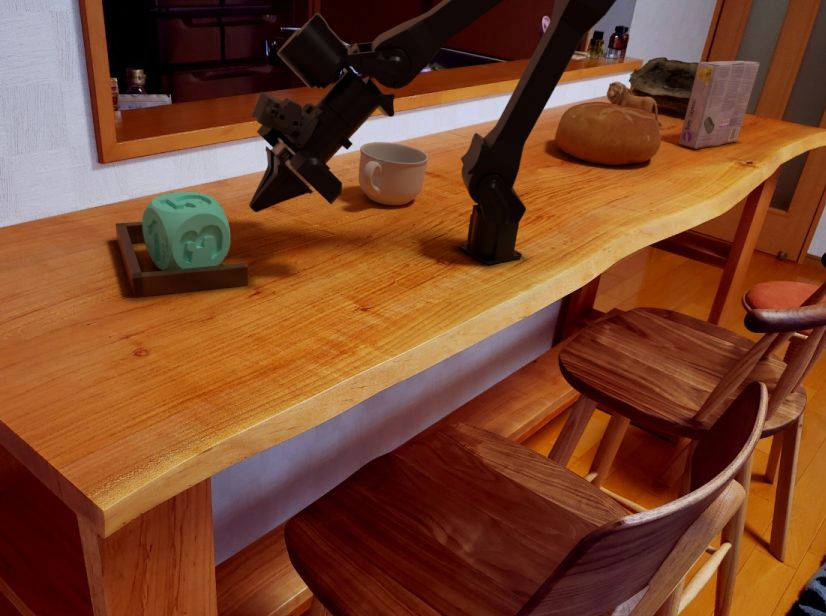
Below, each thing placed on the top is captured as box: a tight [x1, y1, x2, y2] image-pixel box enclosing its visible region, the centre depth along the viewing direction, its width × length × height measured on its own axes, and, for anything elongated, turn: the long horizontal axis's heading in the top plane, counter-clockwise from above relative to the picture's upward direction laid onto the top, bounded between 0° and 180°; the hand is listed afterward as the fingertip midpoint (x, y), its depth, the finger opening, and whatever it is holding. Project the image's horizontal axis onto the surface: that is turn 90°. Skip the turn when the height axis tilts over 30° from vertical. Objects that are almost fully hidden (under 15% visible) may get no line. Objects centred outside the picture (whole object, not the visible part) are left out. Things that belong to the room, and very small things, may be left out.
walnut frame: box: [114, 221, 249, 298], centre depth 94 cm, size 13×17×2 cm
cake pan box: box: [678, 60, 761, 150], centre depth 167 cm, size 19×5×18 cm, turn 128°
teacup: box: [358, 141, 429, 206], centre depth 118 cm, size 14×11×8 cm
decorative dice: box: [141, 191, 231, 271], centre depth 93 cm, size 8×8×8 cm
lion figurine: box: [606, 81, 663, 128], centre depth 181 cm, size 15×5×9 cm, turn 62°
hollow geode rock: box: [628, 56, 699, 115], centre depth 196 cm, size 28×13×15 cm
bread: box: [554, 101, 662, 166], centre depth 153 cm, size 23×23×10 cm
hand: (252, 209), depth 95 cm, fingers closed
